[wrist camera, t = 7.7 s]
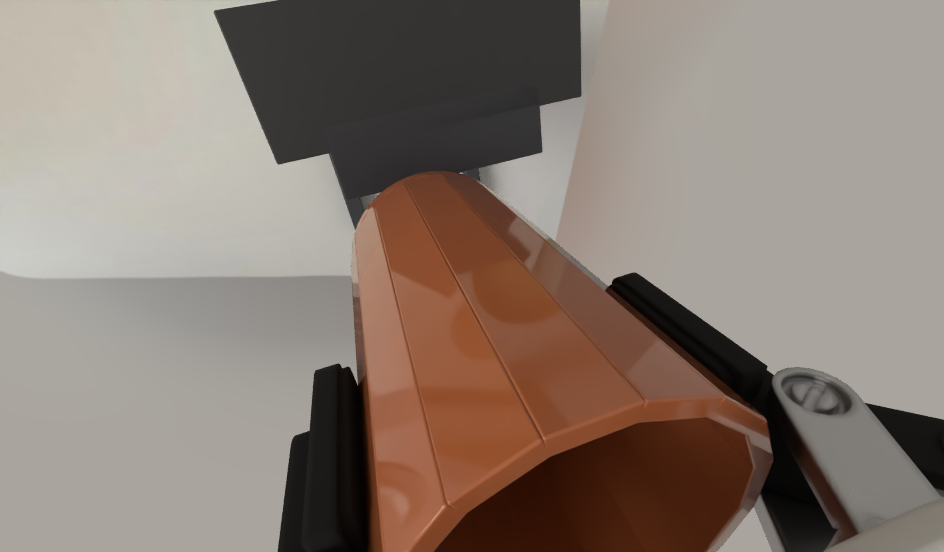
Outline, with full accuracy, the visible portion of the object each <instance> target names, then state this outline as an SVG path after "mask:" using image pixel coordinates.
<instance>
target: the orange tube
mask: <svg viewBox="0 0 944 552" xmlns="http://www.w3.org/2000/svg"><path fill="white" fill-rule="evenodd" d="M351 275H352V291H353V309H354V326H355V343H356V360H357V376H358V393H359V410H360V427H361V444H362V461H363V478H364V494H365V511H366V528H367V545H368V552H716V551H717V550H719V548H720V547H721V546H722V545H723V544H724V543H725V542H726V540H727V539H728V538H729V537H730V535H731V534H732V533H733V532H734V530H735V529H736V528H737V527H738V525H739V524H740V523H741V522H742V520H743V519H744V518H745V517H746V515H747V514H748V513H749V512H750V510H751V509H752V508H753V507H754V505H755V503H756V502H757V500H758V498H759V495H760V493H761V490H762V488H763V485H764V483H765V480H766V478H767V476H768V473H769V471H770V468H771V466H772V463H773V461H774V454H773V449H772V444H771V439H770V434H769V429H768V424H767V420H766V419H765V417H764V416H763V415H762V414H760V413H759V412H758V411H757V410H756V409H754V408H753V407H752V406H751V405H750V404H748V403H747V402H746V401H745V400H744V399H742V398H741V397H740V396H739V395H738V394H736V393H735V392H734V391H733V390H732V389H730V388H729V387H728V386H727V385H726V384H724V383H723V382H722V381H721V380H720V379H718V378H717V377H716V376H715V375H714V374H712V373H711V372H710V371H709V370H708V369H707V368H705V367H704V366H703V365H702V364H701V363H699V362H698V361H697V360H696V359H695V358H693V357H692V356H691V355H690V354H689V353H687V352H686V351H685V350H684V349H683V348H681V347H680V346H679V345H678V344H677V343H675V342H674V341H673V340H672V339H671V338H669V337H668V336H667V335H666V334H665V333H663V332H662V331H661V330H660V329H659V328H657V327H656V326H655V325H654V324H653V323H651V322H650V321H649V320H648V319H647V318H646V317H644V316H643V315H642V314H641V313H640V312H638V311H637V310H636V309H635V308H634V307H632V306H631V305H630V304H629V303H628V302H626V301H625V300H624V299H623V298H622V297H620V296H619V295H618V294H617V293H616V292H614V291H613V290H612V289H611V288H610V287H608V286H607V285H606V284H605V283H603V282H602V281H601V280H600V279H599V278H598V277H596V276H595V275H594V274H593V273H592V272H590V271H589V270H588V269H587V268H586V267H584V266H583V265H582V264H581V263H580V262H579V261H577V260H576V259H575V258H574V257H573V256H571V255H570V254H569V253H568V252H566V251H565V250H564V249H563V248H562V247H560V246H559V245H558V244H557V243H556V242H555V241H553V240H552V239H551V238H550V237H549V236H547V235H546V234H545V233H544V232H543V231H541V230H540V229H539V228H538V227H537V226H535V225H534V224H533V223H532V222H531V221H529V220H528V219H527V218H526V217H525V216H523V215H522V214H521V213H520V212H519V211H518V210H516V209H515V208H514V207H513V206H512V205H510V204H509V203H508V202H507V201H506V200H504V199H503V198H502V197H501V196H499V195H498V194H496V193H495V192H493V191H492V190H491V189H489V188H488V187H487V186H485V185H484V184H483V183H481V182H479V181H477V180H476V179H474V178H471V177H469V176H466V175H463V174H459V173H455V172H447V171H430V172H424V173H419V174H416V175H412V176H409V177H406V178H404V179H402V180H400V181H398V182H396V183H394V184H393V185H391V186H389V187H388V188H386V189H385V190H384V191H383V192H381V193H380V194H379V195H378V196H377V197H376V198H375V199H374V200H373V201H372V202H371V203H370V204H369V206H368V207H367V209H366V210H365V212H364V213H363V215H362V217H361V219H360V221H359V223H358V225H357V228H356V231H355V233H354V238H353V243H352V261H351Z"/></svg>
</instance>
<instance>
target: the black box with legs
mask: <svg viewBox="0 0 944 552" xmlns="http://www.w3.org/2000/svg"><path fill="white" fill-rule="evenodd" d="M214 14H215V16H216V19H217V21H218V24H219V26H220V28H221V31H222V33H223V35H224V38H225V40H226V43H227V45H228V47H229V50H230V52H231V55H232V57H233V59H234V62H235V64H236V67H237V69H238V71H239V74H240V76H241V78H242V81H243V83H244V86H245V88H246V90H247V93H248V95H249V98H250V100H251V102H252V105H253V107H254V110H255V112H256V114H257V117H258V119H259V121H260V124H261V126H262V129H263V131H264V133H265V136H266V138H267V141H268V143H269V145H270V148H271V150H272V153H273V155H274V157H275V160H276V162H277V164H283V163H287V162H292V161H296V160H301V159H305V158H310V157H314V156H319V155H323V154H327V153H329V155H330V158H331V161H332V164H333V167H334V170H335V172H336V175H337V178H338V181H339V184H340V187H341V190H342V193H343V196H344V199H345V201H346V204H347V207H348V210H349V213H350V216H351V219H352V222H353V225H354V227H355V230H356V228H357V225H358V223H359V221H360V219H361V217H362V215H363V213H364V209H363V206H362V203H361V200H360V197H363V196H367V195H371V194H375V193H379V192H383V191H384V190H385V189H386V188H388V187H389V186H391V185H393V184H394V183H396V182H398V181H400V180H402V179H404V178H406V177H409V176H412V175H416V174H419V173H424V172H430V171H447V172H455V173H461V172H463V175H466V176H469V177H471V178H474V179H476V180H477V181H479V182H480V178H479V171H478V168H481V167H485V166H489V165H493V164H497V163H501V162H505V161H509V160H513V159H517V158H521V157H526V156H530V155H534V154H538V153H541V152H542V137H541V122H540V107H539V106H541V105H545V104H550V103H554V102H558V101H563V100H567V99H572V98H576V97H580V96H581V32H580V0H277V1H271V2H265V3H258V4H252V5H246V6H240V7H233V8H227V9H221V10H215V11H214Z"/></svg>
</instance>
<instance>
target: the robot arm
mask: <svg viewBox="0 0 944 552" xmlns="http://www.w3.org/2000/svg"><path fill="white" fill-rule="evenodd" d="M609 287H610V288H611V289H612V290H613V291H614V292H616V293H617V294H618V295H619V296H620V297H622V298H623V299H624V300H625V301H626V302H628V303H629V304H630V305H631V306H632V307H634V308H635V309H636V310H637V311H638V312H640V313H641V314H642V315H643V316H644V317H646V318H647V319H648V320H649V321H650V322H651V323H653V324H654V325H655V326H656V327H657V328H659V329H660V330H661V331H662V332H663V333H665V334H666V335H667V336H668V337H669V338H671V339H672V340H673V341H674V342H675V343H677V344H678V345H679V346H680V347H681V348H683V349H684V350H685V351H686V352H687V353H689V354H690V355H691V356H692V357H693V358H695V359H696V360H697V361H698V362H699V363H701V364H702V365H703V366H704V367H705V368H707V369H708V370H709V371H710V372H711V373H712V374H714V375H715V376H716V377H717V378H718V379H720V380H721V381H722V382H723V383H724V384H726V385H727V386H728V387H729V388H730V389H732V390H733V391H734V392H735V393H736V394H738V395H739V396H740V397H741V398H742V399H744V400H745V401H746V402H747V403H748V404H750V405H751V406H752V407H753V408H754V409H756V410H757V411H758V412H759V413H760V414H762V415H763V416H764V417H765V419H766V420H767V424H768V429H769V434H770V439H771V444H772V449H773V454H774V461H773V463H772V466H771V468H770V471H769V473H768V476H767V478H766V480H765V483H764V485H763V488H762V490H761V493H760V495H759V498H758V500H757V502H756V503H755V505H754V508H755V510H756V513H757V515H758V518H759V520H760V523H761V525H762V527H763V530H764V532H765V535H766V537H767V540H768V542H769V544H770V547H771V549H772V552H944V420H942V419H938V418H933V417H928V416H924V415H919V414H914V413H909V412H904V411H900V410H895V409H891V408H886V407H881V406H876V405H872V404H867V403H864V402H863V400H862V399H861V398H860V397H859V395H858V394H857V393H856V392H854V390H852V388H850V387H849V386H848V385H847V384H845V383H844V382H842V381H841V380H839V379H838V378H836V377H833V376H831V375H829V374H826V373H824V372H821V371H817V370H814V369H810V368H800V367H794V368H786V369H783V370H780V371H778V372H777V373H776V374H775V375H773V374H771V373H770V372H769V371H767V365H765V364H764V363H762V362H761V361H759V360H758V359H757V358H755V357H754V356H753V355H751V354H750V353H748V352H747V351H746V350H744V349H743V348H741V347H740V346H739V345H737V344H736V343H734V342H733V341H732V340H730V339H729V338H727V337H726V336H725V335H723V334H722V333H720V332H719V331H717V330H716V329H715V328H713V327H712V326H710V325H709V324H708V323H706V322H705V321H703V320H702V319H701V318H699V317H698V316H696V315H695V314H694V313H692V312H691V311H689V310H688V309H687V308H685V307H684V306H682V305H681V304H679V303H678V302H677V301H675V300H674V299H673V298H671V297H670V296H668V295H667V294H666V293H664V292H663V291H661V290H660V289H659V288H657V287H656V286H654V285H653V284H651V283H650V282H649V281H647V280H646V279H645V278H643V277H642V276H640V275H639V274H637V273H630V274H627V275H624V276H620V277H617V278H615V279H614V280H613V281H612V285H610V286H609ZM278 552H368V545H367V528H366V511H365V494H364V478H363V461H362V444H361V427H360V410H359V393H358V385H357V383H356V380H355V378H354V376H353V373H352V371H351V369H350V367H346V368H342V367H341V365H340V364H335V365H332V366H329V367H325V368H322V369H319V370H316V371H315V373H314V382H313V395H312V408H311V420H310V431H308V432H305V433H302V434H299V435H296V436H294V438H293V440H292V443H291V449H290V457H289V465H288V473H287V481H286V489H285V497H284V505H283V513H282V522H281V530H280V538H279V545H278Z"/></svg>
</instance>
